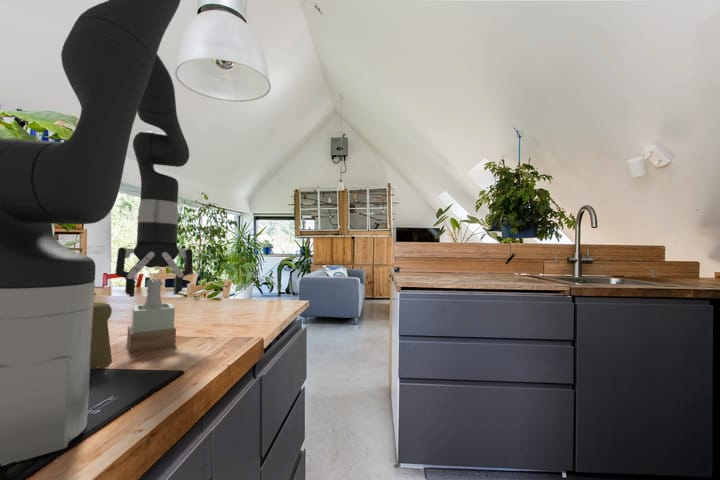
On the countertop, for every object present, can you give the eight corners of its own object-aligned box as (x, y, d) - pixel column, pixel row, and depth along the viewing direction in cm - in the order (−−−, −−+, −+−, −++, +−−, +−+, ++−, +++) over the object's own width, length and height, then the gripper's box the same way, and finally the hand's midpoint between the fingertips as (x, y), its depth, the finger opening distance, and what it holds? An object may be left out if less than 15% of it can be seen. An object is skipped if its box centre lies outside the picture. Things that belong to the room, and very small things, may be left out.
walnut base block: (175, 347, 67) (176, 328, 68) (129, 354, 62) (130, 334, 62) (168, 338, 74) (169, 321, 74) (126, 344, 68) (127, 326, 69)
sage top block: (173, 328, 68) (174, 307, 68) (133, 333, 63) (134, 311, 63) (169, 321, 73) (170, 302, 73) (131, 325, 69) (132, 305, 69)
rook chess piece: (152, 318, 65) (154, 280, 66) (135, 317, 66) (137, 279, 67) (169, 314, 70) (171, 279, 70) (153, 313, 71) (154, 278, 71)
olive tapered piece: (57, 371, 52) (61, 306, 53) (83, 359, 58) (87, 300, 59) (97, 370, 53) (101, 306, 54) (119, 358, 59) (122, 300, 60)
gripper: (119, 218, 62) (114, 300, 61) (197, 223, 71) (194, 294, 70) (117, 220, 67) (113, 295, 67) (190, 225, 77) (187, 291, 76)
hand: (154, 295), depth 69 cm, fingers open, 8 cm apart
